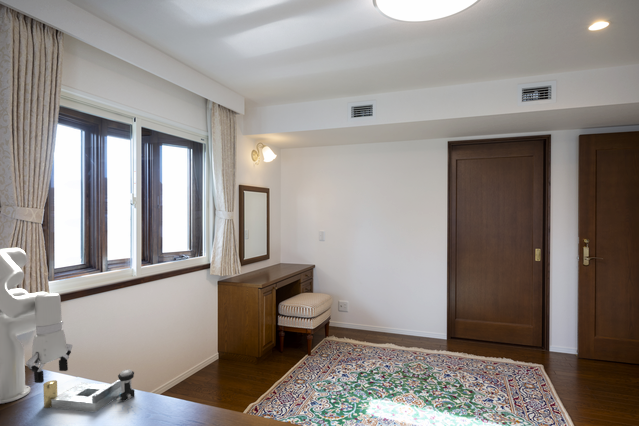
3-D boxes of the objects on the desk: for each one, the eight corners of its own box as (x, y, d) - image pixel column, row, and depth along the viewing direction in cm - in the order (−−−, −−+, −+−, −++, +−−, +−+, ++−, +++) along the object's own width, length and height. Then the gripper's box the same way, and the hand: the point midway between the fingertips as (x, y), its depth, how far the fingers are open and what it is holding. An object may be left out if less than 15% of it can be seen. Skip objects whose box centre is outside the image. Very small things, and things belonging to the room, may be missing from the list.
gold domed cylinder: (41, 407, 134) (40, 384, 134) (51, 401, 138) (50, 379, 138) (50, 408, 133) (49, 385, 133) (60, 402, 137) (59, 380, 137)
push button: (121, 405, 134) (121, 377, 134) (111, 402, 137) (111, 374, 136) (138, 396, 140) (137, 369, 140) (128, 393, 143) (127, 367, 142)
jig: (51, 407, 134) (51, 392, 134) (81, 390, 146) (81, 376, 146) (95, 412, 130) (95, 396, 130) (122, 393, 143) (122, 379, 143)
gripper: (61, 321, 144) (63, 366, 144) (16, 336, 127) (19, 387, 127) (78, 321, 143) (80, 366, 143) (35, 336, 126) (37, 387, 126)
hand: (51, 376), depth 135 cm, fingers open, 9 cm apart
